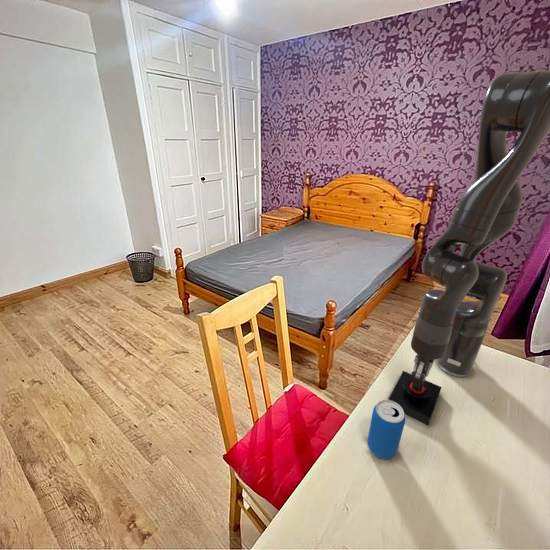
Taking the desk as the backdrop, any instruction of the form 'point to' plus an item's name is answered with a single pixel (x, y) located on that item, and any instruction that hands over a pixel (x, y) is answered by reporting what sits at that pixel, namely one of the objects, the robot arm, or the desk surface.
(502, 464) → the desk surface
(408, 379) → the button housing
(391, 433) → the beverage can
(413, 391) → the plunger
